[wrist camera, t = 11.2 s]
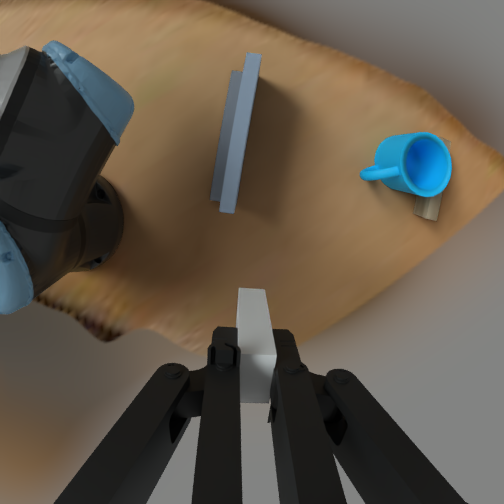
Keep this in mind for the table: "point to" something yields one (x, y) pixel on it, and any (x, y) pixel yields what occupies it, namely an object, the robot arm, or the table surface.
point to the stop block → (430, 199)
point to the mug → (412, 164)
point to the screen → (235, 134)
